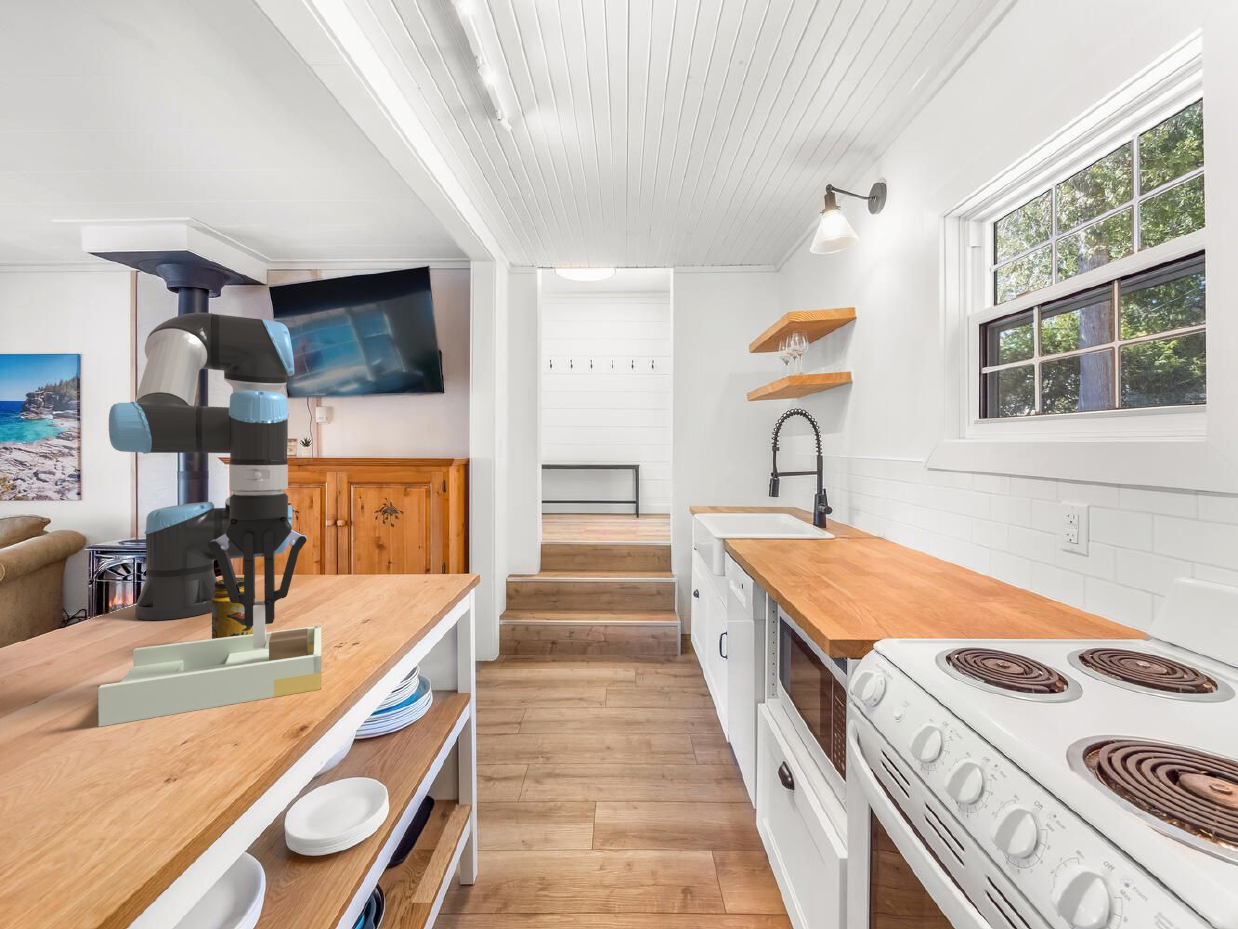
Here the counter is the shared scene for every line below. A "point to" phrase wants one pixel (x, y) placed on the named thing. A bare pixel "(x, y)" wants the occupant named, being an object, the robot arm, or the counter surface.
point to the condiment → (227, 613)
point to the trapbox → (206, 677)
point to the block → (288, 644)
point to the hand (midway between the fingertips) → (259, 645)
